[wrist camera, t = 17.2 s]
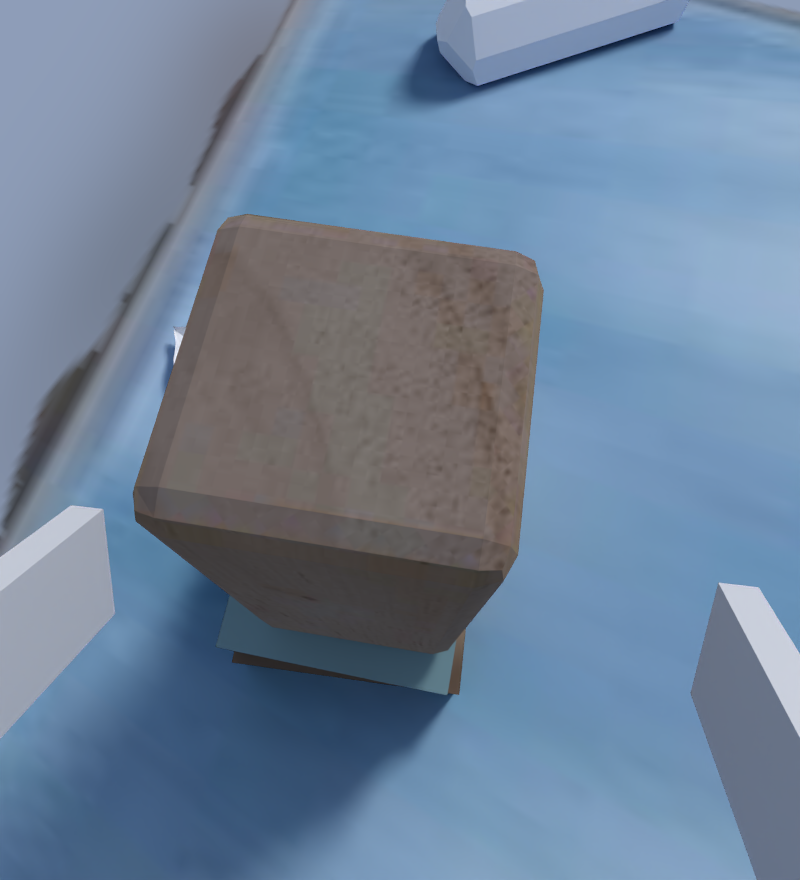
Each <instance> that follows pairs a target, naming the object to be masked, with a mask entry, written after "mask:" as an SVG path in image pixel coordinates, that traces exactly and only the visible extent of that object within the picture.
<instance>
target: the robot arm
mask: <svg viewBox="0 0 800 880" xmlns="http://www.w3.org/2000/svg"><path fill="white" fill-rule="evenodd" d="M114 614H115V609H114V600H113V591H112V582H111V573H110V565H109V556H108V547H107V538H106V529H105V521H104V512H103V509H97V508H89V507H81V506H72V505H71V506H70V507H68V508H67V509H66V510H64V511H63V512H61V513H60V514H59V515H57V516H56V517H55V518H53V519H52V520H51V521H49V522H48V523H46V524H45V525H44V526H42V527H41V528H40V529H38V530H37V531H36V532H34V533H33V534H31V535H30V536H29V537H27V538H26V539H25V540H23V541H22V542H21V543H19V544H18V545H16V546H15V547H14V548H12V549H11V550H10V551H8V552H7V553H5V554H4V555H3V556H1V557H0V738H1V737H2V736H3V735H4V734H5V733H6V732H7V731H8V730H9V729H10V728H11V727H12V725H13V724H14V723H15V722H16V721H17V720H18V719H19V718H20V717H21V716H22V715H23V713H24V712H25V711H26V710H27V709H28V708H29V707H30V706H31V705H32V704H33V703H34V701H35V700H36V699H37V698H38V697H39V696H40V695H41V694H42V693H43V692H44V691H45V689H46V688H47V687H48V686H49V685H50V684H51V683H52V682H53V681H54V680H55V679H56V678H57V676H58V675H59V674H60V673H61V672H62V671H63V670H64V669H65V668H66V667H67V666H68V664H69V663H70V662H71V661H72V660H73V659H74V658H75V657H76V656H77V655H78V654H79V652H80V651H81V650H82V649H83V648H84V647H85V646H86V645H87V644H88V643H89V642H90V640H91V639H92V638H93V637H94V636H95V635H96V634H97V633H98V632H99V631H100V630H101V629H102V627H103V626H104V625H105V624H106V623H107V622H108V621H109V620H110V619H111V618H112V617H113V615H114ZM691 696H692V699H693V702H694V704H695V707H696V710H697V713H698V716H699V719H700V721H701V724H702V727H703V730H704V733H705V735H706V738H707V741H708V744H709V747H710V749H711V752H712V755H713V758H714V761H715V763H716V766H717V769H718V772H719V775H720V777H721V780H722V783H723V786H724V789H725V792H726V794H727V797H728V800H729V803H730V806H731V808H732V811H733V814H734V817H735V820H736V822H737V825H738V828H739V831H740V834H741V836H742V839H743V842H744V845H745V848H746V850H747V853H748V856H749V859H750V862H751V864H752V867H753V870H754V873H755V876H756V879H757V880H800V654H799V652H798V650H797V649H796V647H795V645H794V644H793V642H792V641H791V639H790V637H789V636H788V634H787V633H786V631H785V629H784V628H783V626H782V624H781V623H780V621H779V620H778V618H777V616H776V615H775V613H774V612H773V610H772V608H771V607H770V605H769V603H768V602H767V600H766V599H765V597H764V595H763V594H762V592H761V591H760V589H759V587H750V586H742V585H733V584H725V583H718V586H717V590H716V594H715V598H714V602H713V606H712V610H711V614H710V618H709V622H708V626H707V630H706V634H705V638H704V642H703V646H702V650H701V654H700V658H699V662H698V666H697V670H696V674H695V678H694V682H693V686H692V690H691Z"/></svg>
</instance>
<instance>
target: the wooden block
mask: <svg viewBox="0 0 800 880" xmlns="http://www.w3.org/2000/svg"><path fill="white" fill-rule="evenodd" d="M543 292H544V290H543V287H542V284H541V281H540V278H539V275H538V271H537V267H536V263H535V261H534V260H532V259H530V258H528V257H526V256H524V255H522V254H520V253H518V252H516V251H509V250H502V249H495V248H488V247H481V246H473V245H466V244H459V243H452V242H445V241H437V240H430V239H423V238H416V237H409V236H402V235H394V234H387V233H380V232H373V231H366V230H359V229H351V228H344V227H337V226H330V225H323V224H316V223H308V222H301V221H294V220H287V219H280V218H272V217H265V216H258V215H251V214H245V215H240V216H234V217H229V218H227V220H226V221H225V222H224V223H223V224H222V225H221V227H220V228H219V229H218V230H217V234H216V237H215V240H214V243H213V246H212V249H211V252H210V255H209V258H208V261H207V264H206V267H205V271H204V274H203V277H202V280H201V283H200V286H199V289H198V292H197V295H196V298H195V301H194V304H193V308H192V311H191V314H190V317H189V320H188V323H187V326H186V329H185V332H184V335H183V338H182V341H181V345H180V348H179V351H178V354H177V357H176V360H175V363H174V366H173V369H172V372H171V375H170V378H169V382H168V385H167V388H166V391H165V394H164V397H163V400H162V403H161V406H160V409H159V412H158V415H157V419H156V422H155V425H154V428H153V431H152V434H151V437H150V440H149V443H148V446H147V449H146V452H145V456H144V459H143V462H142V465H141V468H140V471H139V474H138V477H137V480H136V483H135V486H134V491H133V498H134V512H135V520H136V522H137V523H139V524H140V525H141V526H143V527H144V528H145V529H146V530H148V531H149V532H150V533H151V534H153V535H154V536H155V537H157V538H158V539H159V540H160V541H162V542H163V543H164V544H165V545H167V546H168V547H169V548H171V549H172V550H173V551H174V552H176V553H177V554H178V555H179V556H181V557H182V558H183V559H184V560H186V561H187V562H188V563H190V564H191V565H192V566H193V567H195V568H196V569H197V570H198V571H200V572H201V573H202V574H204V575H205V576H206V577H207V578H209V579H210V580H211V581H212V582H214V583H215V584H216V585H218V586H219V587H220V588H221V589H223V590H224V591H225V592H226V593H228V594H229V595H230V596H232V597H233V598H234V599H235V600H237V601H238V602H239V603H240V604H242V605H243V606H244V607H246V608H247V609H248V610H249V611H251V612H252V613H253V614H254V615H256V616H257V617H258V618H259V619H261V620H262V621H264V622H265V623H267V624H268V625H270V626H271V627H274V628H280V629H286V630H292V631H298V632H304V633H310V634H316V635H322V636H328V637H334V638H339V639H345V640H351V641H357V642H363V643H369V644H375V645H381V646H387V647H393V648H399V649H405V650H410V651H416V652H422V653H428V654H435V653H440V652H444V651H448V649H449V648H450V647H451V646H452V644H453V643H454V642H455V641H456V639H457V638H458V637H459V636H460V635H461V633H462V632H463V631H464V630H465V628H466V627H467V626H468V625H469V623H470V622H471V621H472V620H473V618H474V617H475V616H476V615H477V613H478V612H479V611H480V610H481V608H482V607H483V606H484V605H485V603H486V602H487V601H488V600H489V598H490V597H491V596H492V595H493V593H494V592H495V591H496V590H497V588H498V587H499V586H500V585H501V583H502V582H503V581H504V579H505V577H506V576H507V574H508V572H509V570H510V568H511V567H512V565H513V563H514V561H515V559H516V558H517V556H518V549H519V539H520V529H521V518H522V508H523V498H524V487H525V477H526V467H527V457H528V446H529V436H530V426H531V415H532V405H533V395H534V384H535V374H536V364H537V353H538V343H539V333H540V323H541V312H542V302H543Z"/></svg>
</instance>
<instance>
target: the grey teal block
mask: <svg viewBox="0 0 800 880" xmlns="http://www.w3.org/2000/svg"><path fill="white" fill-rule="evenodd" d="M455 645H456V641H455V642H454V643H453V644H452V646H451V647H450V648H449V649H448V651H444V652H440V653H435V654H428V653H422V652H416V651H410V650H405V649H399V648H393V647H387V646H381V645H375V644H369V643H363V642H357V641H351V640H345V639H339V638H334V637H328V636H322V635H316V634H310V633H304V632H298V631H292V630H286V629H280V628H274V627H271V626H270V625H268V624H267V623H265V622H264V621H262V620H261V619H259V618H258V617H257V616H256V615H254V614H253V613H252V612H251V611H249V610H248V609H247V608H246V607H244V606H243V605H242V604H240V603H239V602H238V601H237V600H235V599H234V598H233V597H232V596H229V600H228V603H227V607H226V611H225V614H224V618H223V621H222V625H221V629H220V632H219V636H218V639H217V643H216V647H218V648H223V649H227V650H231V651H236V652H241V653H246V654H250V655H255V656H260V657H265V658H269V659H274V660H279V661H284V662H289V663H293V664H298V665H303V666H308V667H313V668H317V669H322V670H327V671H332V672H336V673H341V674H346V675H351V676H356V677H360V678H365V679H370V680H375V681H380V682H384V683H389V684H394V685H399V686H404V687H408V688H413V689H418V690H423V691H427V692H432V693H437V694H442V695H447V694H448V688H449V682H450V676H451V670H452V664H453V658H454V651H455Z"/></svg>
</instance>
